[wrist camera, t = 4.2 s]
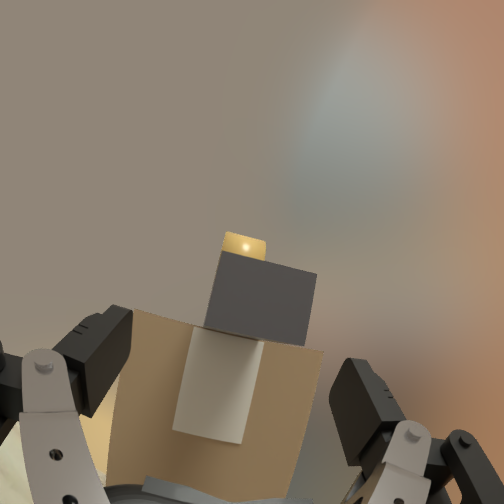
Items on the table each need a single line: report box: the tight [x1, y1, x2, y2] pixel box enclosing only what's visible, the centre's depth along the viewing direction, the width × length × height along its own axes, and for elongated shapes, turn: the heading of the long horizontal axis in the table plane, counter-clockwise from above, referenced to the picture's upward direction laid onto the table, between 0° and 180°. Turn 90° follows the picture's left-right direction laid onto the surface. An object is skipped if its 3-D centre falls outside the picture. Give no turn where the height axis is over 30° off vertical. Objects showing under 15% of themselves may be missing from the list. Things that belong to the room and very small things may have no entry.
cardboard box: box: [106, 309, 323, 502], centre depth 22 cm, size 13×14×32 cm
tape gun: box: [203, 232, 317, 346], centre depth 23 cm, size 22×4×10 cm, turn 10°
